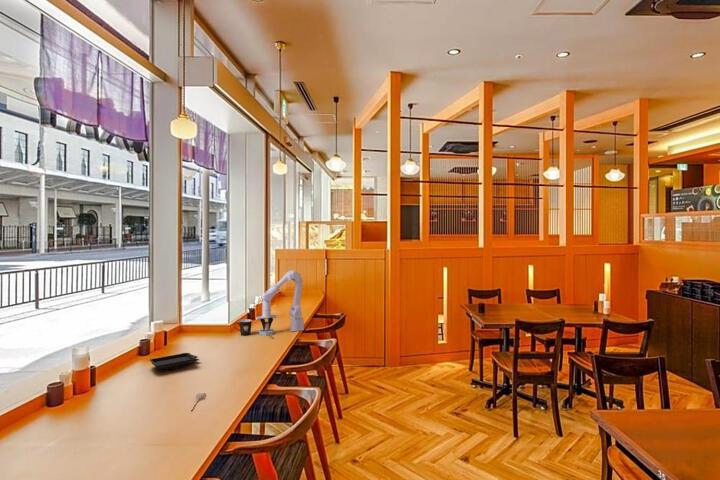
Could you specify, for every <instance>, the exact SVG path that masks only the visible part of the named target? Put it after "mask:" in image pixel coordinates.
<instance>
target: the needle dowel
mask: <svg viewBox="0 0 720 480" xmlns="http://www.w3.org/2000/svg"><path fill="white" fill-rule="evenodd" d="M264 331H269V322H268V321H265V330H264Z"/></svg>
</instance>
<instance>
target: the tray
mask: <svg viewBox="0 0 720 480" xmlns="http://www.w3.org/2000/svg"><path fill="white" fill-rule="evenodd" d="M197 358H199V356H197V355H194V354H191V353H190V352H183V353H177V354H171V355H166V356H161V357H155V358H150V359H149V361H150V362H151V364H152V365H153V367H155V368H156V369H162V368H163V370H170V369H172V370H173V371H174V370H175V369H176V370H179V369H181V368H182V367H184V365H185V366H187V365H189V364H191V363H193V362H195V361H197ZM190 362H191V363H190ZM188 363H189V364H188ZM186 364H187V365H186Z"/></svg>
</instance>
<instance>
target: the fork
mask: <svg viewBox="0 0 720 480" xmlns="http://www.w3.org/2000/svg"><path fill="white" fill-rule="evenodd" d="M205 393H206V392H199V393H197V394H196V395H195V398H196V400H195V402H196V404H197V403H198V402H199V400H200V399H201V398H202V397H203V396H204V394H205ZM197 401H198V402H197Z"/></svg>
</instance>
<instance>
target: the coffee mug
mask: <svg viewBox="0 0 720 480" xmlns="http://www.w3.org/2000/svg"><path fill="white" fill-rule="evenodd" d="M252 323H253V320H252V319H249V318H248V319H247V318H245V319H240V320H239V321H238V322H235V323H234V324H233V328H234V329H235V330H237V331H238V332H240V336H242V337H248V336H250V335H251V331H252ZM235 325H238V326H239V328H237V327H236V326H235Z"/></svg>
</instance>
